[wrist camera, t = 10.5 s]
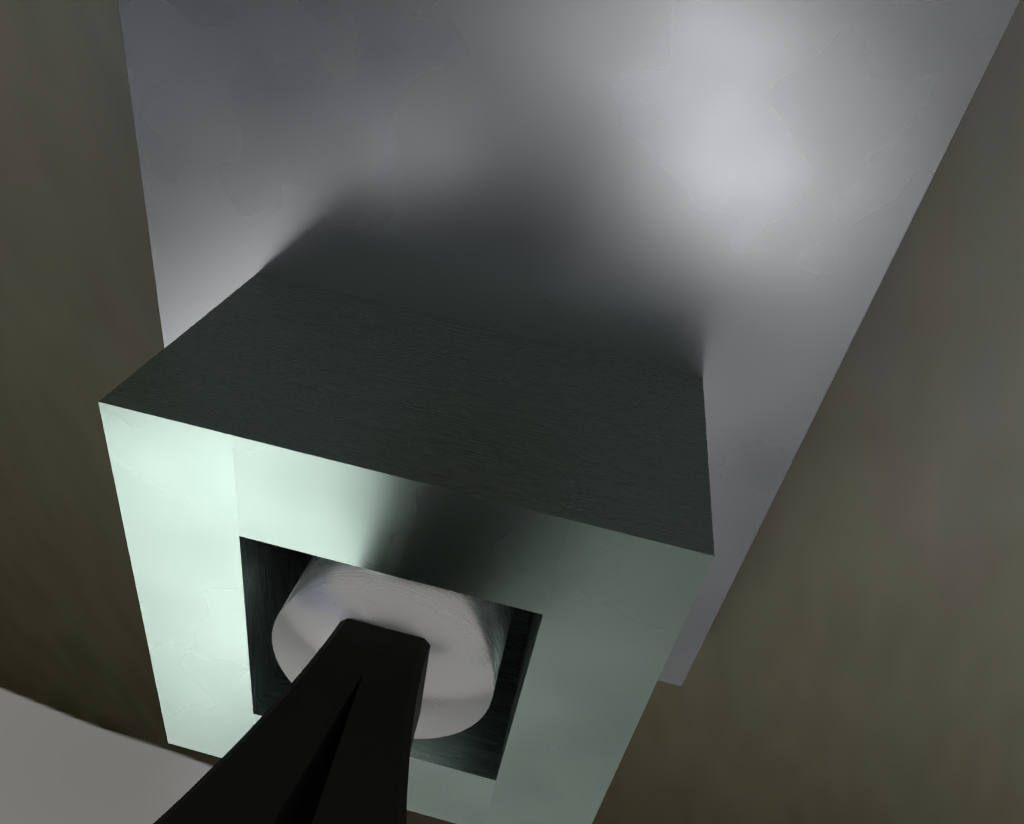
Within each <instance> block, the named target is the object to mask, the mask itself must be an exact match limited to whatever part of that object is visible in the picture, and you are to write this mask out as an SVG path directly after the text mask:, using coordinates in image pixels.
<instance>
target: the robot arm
mask: <svg viewBox="0 0 1024 824" xmlns="http://www.w3.org/2000/svg"><path fill="white" fill-rule="evenodd" d="M429 652H430V644H429V643H428V642H427V641H426V640H425V638H421V637H418V636H414V635H410V634H406V633H402V632H399V631H395V630H391V629H387V628H383V627H380V626H376V625H372V624H368V623H364V622H361V621H357V620H353V619H349V618H347V619H344V620H342V621H340V623H339V624H338V625H337V627H336V628H335V630H334V631H333V632H332V634H331V635H330V636H329V638H328V639H327V640H326V642H325V643H324V644H323V645H322V647H321V648H320V649H319V651H318V652H317V653H316V654H315V656H314V657H313V658H312V659H311V661H310V662H309V663H308V664H307V665H306V667H305V668H304V669H303V670H302V671H301V673H300V674H299V675H298V676H297V677H296V678H295V680H294V681H293V682H292V683H291V684H290V685H289V687H288V688H287V689H286V690H285V691H284V692H283V694H282V695H281V696H280V697H279V698H278V699H277V700H276V701H275V702H274V703H273V705H272V706H271V707H270V708H269V709H268V710H267V711H266V712H265V713H264V714H263V715H262V717H261V718H260V719H259V720H258V721H257V722H256V723H255V724H254V725H253V726H252V727H251V729H250V730H249V731H248V732H247V733H246V734H245V735H244V736H243V737H242V738H241V739H240V740H239V741H238V742H237V743H236V744H235V745H234V746H233V747H232V748H231V749H230V750H229V751H228V752H227V753H226V754H225V755H224V756H223V757H222V758H221V759H220V760H219V761H218V762H217V763H216V764H215V765H214V766H213V767H212V768H211V769H210V770H209V771H208V772H207V773H206V774H205V775H204V776H203V777H202V778H201V779H200V780H199V781H198V782H197V783H196V784H195V785H194V786H193V787H192V788H191V789H190V790H189V791H188V792H187V793H186V794H185V795H184V796H183V797H182V798H181V799H180V800H179V801H177V802H176V803H175V804H174V805H173V806H172V807H171V808H170V809H169V810H168V811H167V812H166V813H165V814H163V815H162V816H161V817H160V818H159V819H158V820H157V821H156V822H155V823H154V824H406V814H407V790H408V775H409V760H410V752H411V748H412V743H413V739H414V735H415V731H416V727H417V723H418V720H419V716H420V711H421V704H422V698H423V691H424V685H425V678H426V671H427V665H428V658H429Z"/></svg>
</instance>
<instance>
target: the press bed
mask: <svg viewBox="0 0 1024 824" xmlns="http://www.w3.org/2000/svg"><path fill="white" fill-rule="evenodd" d="M1019 2H1020V0H118V4H119V12H120V19H121V27H122V34H123V42H124V49H125V57H126V64H127V71H128V79H129V86H130V94H131V101H132V109H133V116H134V124H135V131H136V139H137V146H138V154H139V161H140V169H141V176H142V183H143V191H144V198H145V206H146V213H147V221H148V228H149V236H150V243H151V251H152V258H153V266H154V273H155V280H156V288H157V295H158V303H159V310H160V318H161V325H162V333H163V340H164V349H163V350H162V351H161V352H159V353H158V354H157V355H156V356H154V357H153V358H152V359H151V360H149V361H148V362H147V363H146V364H145V365H143V366H142V367H141V368H140V369H138V370H137V371H136V372H135V373H133V374H132V375H131V376H130V377H128V378H127V379H126V380H125V381H124V382H122V383H121V384H120V385H119V386H117V387H116V388H115V389H114V390H112V391H111V392H110V393H109V394H107V395H106V396H105V397H104V398H103V399H101V400H100V401H99V407H100V412H101V417H102V422H103V427H104V431H105V436H106V441H107V446H108V451H109V456H110V461H111V466H112V471H113V475H114V480H115V485H116V490H117V495H118V500H119V505H120V510H121V514H122V519H123V524H124V529H125V534H126V539H127V544H128V549H129V554H130V558H131V563H132V568H133V573H134V578H135V583H136V588H137V593H138V597H139V602H140V607H141V612H142V617H143V622H144V627H145V632H146V637H147V641H148V646H149V651H150V656H151V661H152V666H153V671H154V676H155V680H156V685H157V690H158V695H159V700H160V705H161V710H162V715H163V720H164V724H165V729H166V734H167V739H168V743H171V744H174V745H178V746H181V747H185V748H188V749H192V750H196V751H199V752H203V753H206V754H210V755H213V756H217V757H221V758H222V757H223V756H224V755H225V754H226V753H227V752H228V751H229V750H230V749H231V748H232V747H233V746H234V745H235V744H236V743H237V742H238V741H239V740H240V739H241V738H242V737H243V736H244V735H245V734H246V733H247V732H248V731H249V730H250V729H251V727H252V726H253V725H254V724H255V723H256V722H257V721H258V720H259V719H260V718H261V717H262V715H263V714H264V713H265V712H266V711H267V710H268V709H269V708H270V707H271V706H272V705H273V703H274V702H275V701H276V700H277V699H278V698H279V697H280V696H281V695H282V694H283V692H284V691H285V690H286V689H287V688H288V687H289V685H290V684H291V681H290V680H289V679H288V678H287V676H286V675H285V673H284V672H283V670H282V669H281V667H280V665H279V663H278V661H277V659H276V656H275V653H274V650H273V645H272V630H273V626H274V622H275V620H276V618H277V616H278V614H279V613H280V611H281V609H282V607H283V606H284V604H285V602H286V601H287V599H288V597H289V595H290V594H291V592H292V590H293V589H294V587H295V585H296V583H297V582H298V580H299V578H300V577H301V575H302V573H303V571H304V570H305V568H306V566H307V565H308V563H309V561H310V559H311V558H312V556H313V555H315V556H318V557H322V558H326V559H330V560H334V561H338V562H342V563H345V564H349V565H353V566H357V567H361V568H365V569H369V570H372V571H376V572H380V573H384V574H388V575H392V576H396V577H399V578H403V579H407V580H411V581H415V582H419V583H423V584H426V585H430V586H434V587H438V588H442V589H446V590H450V591H453V592H457V593H461V594H465V595H469V596H473V597H477V598H480V599H484V600H488V601H492V602H496V603H500V604H504V605H507V606H511V607H514V609H513V613H512V618H511V622H510V626H509V630H508V634H507V639H506V643H505V647H504V651H503V655H502V660H501V664H500V668H499V672H498V676H497V681H496V685H495V689H494V693H493V697H492V701H491V703H490V706H489V708H488V710H487V711H486V713H485V714H484V716H483V717H482V718H481V719H480V720H479V721H478V722H476V723H475V724H474V725H472V726H471V727H469V728H467V729H465V730H463V731H461V732H458V733H455V734H452V735H449V736H444V737H439V738H430V739H413V743H412V748H411V752H410V760H409V775H408V790H407V810H410V811H413V812H417V813H420V814H424V815H428V816H431V817H435V818H438V819H442V820H445V821H449V822H453V823H456V824H592V822H593V820H594V818H595V816H596V813H597V811H598V809H599V807H600V805H601V802H602V800H603V798H604V796H605V794H606V792H607V789H608V787H609V785H610V783H611V781H612V779H613V776H614V774H615V772H616V770H617V768H618V765H619V763H620V761H621V759H622V757H623V755H624V752H625V750H626V748H627V746H628V744H629V741H630V739H631V737H632V735H633V733H634V731H635V728H636V726H637V724H638V722H639V720H640V717H641V715H642V713H643V711H644V709H645V707H646V704H647V702H648V700H649V698H650V696H651V694H652V691H653V689H654V687H655V685H656V683H657V680H660V681H663V682H667V683H671V684H675V685H679V686H682V684H683V682H684V680H685V678H686V676H687V674H688V672H689V670H690V668H691V665H692V663H693V661H694V659H695V657H696V655H697V653H698V651H699V649H700V647H701V645H702V643H703V641H704V639H705V637H706V635H707V633H708V631H709V629H710V627H711V625H712V623H713V621H714V619H715V617H716V615H717V613H718V611H719V609H720V607H721V605H722V603H723V601H724V599H725V597H726V595H727V593H728V591H729V589H730V587H731V585H732V582H733V580H734V578H735V576H736V574H737V572H738V570H739V568H740V566H741V564H742V562H743V560H744V558H745V556H746V554H747V552H748V550H749V548H750V546H751V544H752V542H753V540H754V538H755V536H756V534H757V532H758V530H759V528H760V526H761V524H762V522H763V520H764V518H765V516H766V514H767V512H768V510H769V508H770V506H771V504H772V502H773V500H774V497H775V495H776V493H777V491H778V489H779V487H780V485H781V483H782V481H783V479H784V477H785V475H786V473H787V471H788V469H789V467H790V465H791V463H792V461H793V459H794V457H795V455H796V453H797V451H798V449H799V447H800V445H801V443H802V441H803V439H804V437H805V435H806V433H807V431H808V429H809V427H810V425H811V423H812V421H813V419H814V417H815V415H816V412H817V410H818V408H819V406H820V404H821V402H822V400H823V398H824V396H825V394H826V392H827V390H828V388H829V386H830V384H831V382H832V380H833V378H834V376H835V374H836V372H837V370H838V368H839V366H840V364H841V362H842V360H843V358H844V356H845V354H846V352H847V350H848V348H849V346H850V344H851V342H852V340H853V338H854V336H855V334H856V332H857V330H858V327H859V325H860V323H861V321H862V319H863V317H864V315H865V313H866V311H867V309H868V307H869V305H870V303H871V301H872V299H873V297H874V295H875V293H876V291H877V289H878V287H879V285H880V283H881V281H882V279H883V277H884V275H885V273H886V271H887V269H888V267H889V265H890V263H891V261H892V259H893V257H894V255H895V253H896V251H897V249H898V247H899V244H900V242H901V240H902V238H903V236H904V234H905V232H906V230H907V228H908V226H909V224H910V222H911V220H912V218H913V216H914V214H915V212H916V210H917V208H918V206H919V204H920V202H921V200H922V198H923V196H924V194H925V192H926V190H927V188H928V186H929V184H930V182H931V180H932V178H933V176H934V174H935V172H936V170H937V168H938V166H939V164H940V162H941V159H942V157H943V155H944V153H945V151H946V149H947V147H948V145H949V143H950V141H951V139H952V137H953V135H954V133H955V131H956V129H957V127H958V125H959V123H960V121H961V119H962V117H963V115H964V113H965V111H966V109H967V107H968V105H969V103H970V101H971V99H972V97H973V95H974V93H975V91H976V89H977V87H978V85H979V83H980V81H981V79H982V77H983V74H984V72H985V70H986V68H987V66H988V64H989V62H990V60H991V58H992V56H993V54H994V52H995V50H996V48H997V46H998V44H999V42H1000V40H1001V38H1002V36H1003V34H1004V32H1005V30H1006V28H1007V26H1008V24H1009V22H1010V20H1011V18H1012V16H1013V14H1014V12H1015V10H1016V8H1017V6H1018V4H1019Z"/></svg>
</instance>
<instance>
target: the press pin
mask: <svg viewBox="0 0 1024 824" xmlns="http://www.w3.org/2000/svg"><path fill="white" fill-rule="evenodd" d="M513 609H514V607H511V606H507V605H504V604H500V603H496V602H492V601H488V600H484V599H480V598H477V597H473V596H469V595H465V594H461V593H457V592H453V591H450V590H446V589H442V588H438V587H434V586H430V585H426V584H423V583H419V582H415V581H411V580H407V579H403V578H399V577H396V576H392V575H388V574H384V573H380V572H376V571H372V570H369V569H365V568H361V567H357V566H353V565H349V564H345V563H342V562H338V561H334V560H330V559H326V558H322V557H318V556H315V555H313V556H312V558H311V559H310V561H309V563H308V565H307V566H306V568H305V570H304V571H303V573H302V575H301V577H300V578H299V580H298V582H297V583H296V585H295V587H294V589H293V590H292V592H291V594H290V595H289V597H288V599H287V601H286V602H285V604H284V606H283V607H282V609H281V611H280V613H279V614H278V616H277V618H276V620H275V622H274V626H273V630H272V645H273V650H274V653H275V656H276V659H277V661H278V663H279V665H280V667H281V669H282V670H283V672H284V673H285V675H286V676H287V678H288V679H289V680H290V681H291V683H292V682H293V681H294V680H295V678H296V677H297V676H298V675H299V674H300V673H301V671H302V670H303V669H304V668H305V667H306V665H307V664H308V663H309V662H310V661H311V659H312V658H313V657H314V656H315V654H316V653H317V652H318V651H319V649H320V648H321V647H322V645H323V644H324V643H325V642H326V640H327V639H328V638H329V636H330V635H331V634H332V632H333V631H334V630H335V628H336V627H337V625H338V624H339V623H340V621H342V620H344V619H347V618H349V619H353V620H357V621H361V622H364V623H368V624H372V625H376V626H380V627H383V628H387V629H391V630H395V631H399V632H402V633H406V634H410V635H414V636H418V637H421V638H425V640H426V641H427V642H428V643H429V644H430V652H429V658H428V665H427V671H426V678H425V685H424V691H423V698H422V704H421V711H420V716H419V720H418V723H417V727H416V731H415V735H414V739H430V738H439V737H444V736H449V735H452V734H455V733H458V732H461V731H463V730H465V729H467V728H469V727H471V726H472V725H474V724H475V723H476V722H478V721H479V720H480V719H481V718H482V717H483V716H484V714H485V713H486V711H487V710H488V708H489V706H490V703H491V701H492V697H493V693H494V689H495V685H496V681H497V676H498V672H499V668H500V664H501V660H502V655H503V651H504V647H505V643H506V639H507V634H508V630H509V626H510V622H511V618H512V613H513Z"/></svg>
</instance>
